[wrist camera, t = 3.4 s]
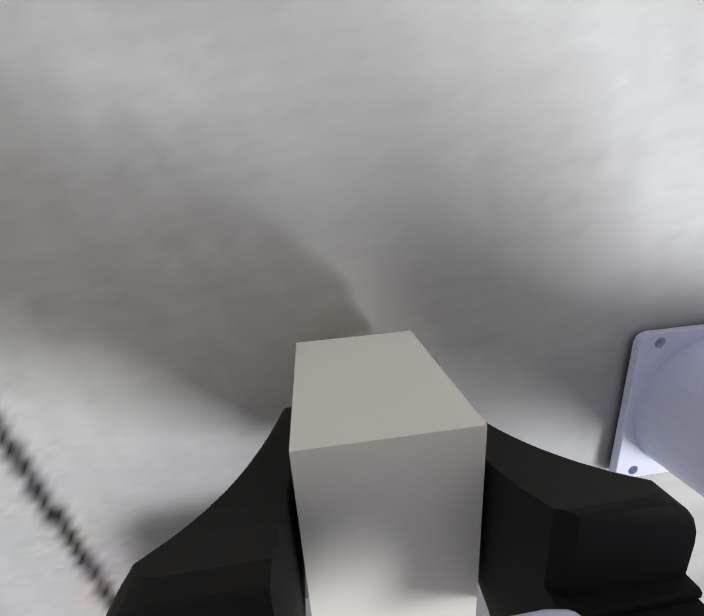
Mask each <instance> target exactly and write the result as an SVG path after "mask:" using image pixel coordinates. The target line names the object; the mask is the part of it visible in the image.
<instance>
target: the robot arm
mask: <svg viewBox="0 0 704 616" xmlns="http://www.w3.org/2000/svg"><path fill="white" fill-rule="evenodd" d="M656 340H657V341H656ZM291 414H292V407H289V408H285V409H284V410H283V411H282V413H281V415H280V417H279V419H278V421H277V423H276V425H275V426H274V428H273V430H272V432H271V433H270V435H269V436H268V438H267V440H266V441H265V443H264V444H263V446H262V447H261V449H260V450H259V451H258V453H257V454H256V456H255V457H254V458H253V460H252V461H251V462H250V464H249V465H248V466H247V468H246V469H245V470H244V471H243V473H242V474H241V475H240V476H239V477H238V478H237V480H236V481H235V482H234V483H233V484H232V485H231V486H230V487H229V488H228V490H227V491H226V492H225V493H224V494H222V495H221V496H220V497H219V498H218V499H217V500H216V501H215V502H214V503H213V504H212V505H211V506H210V507H209V508H208V509H207V510H206V511H204V512H203V513H202V514H201V515H200V516H199V517H197V518H196V519H195V520H194V521H193V522H191V523H190V524H189V525H188V526H186V527H185V528H184V529H183V530H181V531H180V532H179V533H178V534H176V535H175V536H174V537H172V538H171V539H170V540H168V541H167V542H165V543H164V544H162V545H161V546H160V547H158V548H157V549H155V550H154V551H152V552H151V553H150V554H148V555H147V556H145V557H144V558H142V559H141V560H139V561H138V562H136V563H135V564H134V565H133V566H132V568H131V570H130V572H129V573H128V575H127V577H126V578H125V580H124V582H123V583H122V585H121V587H120V589H119V591H118V592H117V594H116V596H115V598H114V600H113V602H112V604H111V606H110V608H109V610H108V612H107V615H106V616H306V600H305V564H304V557H303V550H302V542H301V535H300V528H299V521H298V514H297V507H296V499H295V492H294V485H293V478H292V471H291V463H290V456H289V443H290V428H291ZM485 423H486V422H485ZM486 424H487V423H486ZM667 471H669V472H671V473H672V474H673V475H675V476H676V477H677V478H679V479H680V480H681V481H683V482H684V483H686V484H687V485H688V486H690V487H691V488H692V489H694V490H695V491H696V492H698V493H699V494H700V495H702V496H703V497H704V324H701V325H692V326H683V327H675V328H666V329H657V330H649V331H643V332H641V333H639V334H638V335H637V336H636V337H635V338H634V341H633V346H632V351H631V356H630V362H629V367H628V372H627V377H626V383H625V388H624V393H623V398H622V404H621V409H620V414H619V420H618V425H617V430H616V435H615V441H614V446H613V451H612V456H611V462H610V467H609V471H607V470H603V469H600V468H596V467H593V466H589V465H586V464H582V463H579V462H576V461H573V460H570V459H567V458H564V457H561V456H558V455H555V454H553V453H550V452H547V451H545V450H542V449H539V448H537V447H535V446H532V445H530V444H527V443H525V442H523V441H521V440H519V439H517V438H514V437H512V436H510V435H508V434H506V433H504V432H502V431H500V430H498V429H497V428H495V427H493V426H491V425H489V424H487V439H486V455H485V472H484V488H483V505H482V521H481V538H480V555H479V571H478V583H479V586H480V589H481V592H482V594H483V597H484V600H485V603H486V605H487V608H488V611H489V614H490V616H704V604H703V603H702V602H701V601H700V600H699V599H698V598H701V596H702V591H701V589H700V588H699V587H698V586H697V585H696V584H695V583H694V582H693V581H692V580H691V579H690V578H689V577H688V576H687V575H686V571H687V567H688V564H689V561H690V557H691V554H692V551H693V547H694V544H695V537H696V527H695V522H694V518H693V517H692V515H691V514H690V512H689V511H688V510H687V509H686V508H685V507H684V506H682V505H681V504H680V503H679V502H677V501H676V500H675V499H674V498H672V497H671V496H670V495H669V494H668V493H666V492H665V491H664V490H663V489H661V488H660V487H659V486H658V485H656V484H655V483H654V482H653V481H651V480H647V479H642V478H638V477H636V476H642V475H648V474H654V473H661V472H667Z"/></svg>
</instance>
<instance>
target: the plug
mask: <svg viewBox="0 0 704 616" xmlns="http://www.w3.org/2000/svg"><path fill="white" fill-rule="evenodd" d="M486 439H487V424H486V423H485V421H484V420H483V419H482V418H481V416H480V415H479V414H478V413H477V412H476V410H475V409H474V408H473V407H472V405H471V404H470V403H469V402H468V400H467V399H466V398H465V397H464V396H463V394H462V393H461V392H460V391H459V389H458V388H457V387H456V386H455V384H454V383H453V382H452V381H451V380H450V378H449V377H448V376H447V375H446V373H445V372H444V371H443V370H442V368H441V367H440V366H439V365H438V364H437V362H436V361H435V360H434V359H433V357H432V356H431V355H430V354H429V352H428V351H427V350H426V349H425V347H424V346H423V345H422V344H421V343H420V341H419V340H418V339H417V338H416V336H415V335H414V334H413V333H412V331H402V332H393V333H383V334H374V335H364V336H355V337H345V338H336V339H326V340H317V341H307V342H298V343H296V355H295V370H294V384H293V399H292V414H291V428H290V443H289V456H290V463H291V471H292V478H293V485H294V492H295V499H296V507H297V514H298V521H299V528H300V535H301V542H302V550H303V557H304V564H305V571H306V578H307V586H308V593H309V600H310V607H311V614H312V616H476V604H477V588H478V571H479V555H480V538H481V521H482V505H483V488H484V472H485V455H486Z"/></svg>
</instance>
